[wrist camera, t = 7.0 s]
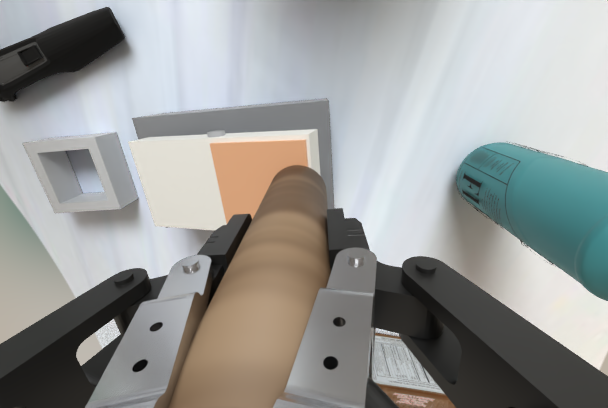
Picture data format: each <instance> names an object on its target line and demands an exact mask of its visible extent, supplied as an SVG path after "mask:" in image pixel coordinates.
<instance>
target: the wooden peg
mask: <svg viewBox="0 0 608 408" xmlns="http://www.w3.org/2000/svg"><path fill="white" fill-rule="evenodd" d="M327 209H328V206H327V191H326V186H325V183H324V180H323V179H322V177H321V176H320V175H319V174H318V173H317V172H316V171H315V170H313V169H311V168H309V167H306V166H302V165H293V166H289V167H286V168H284V169H282V170H281V171H279V172H278V173H277V174H276V175H275V177H274V178H273V180H272V182H271V184H270V186H269V188H268V190H267V192H266V194H265V196H264V198H263V200H262V202H261V204H260V206H259V208H258V210H257V212H256V213H255V215H254V217H253V219H252V221H251V223H250V225H249V227H248V229H247V231H246V233H245V235H244V237H243V239H242V241H241V243H240V245H239V247H238V249H237V251H236V253H235V255H234V257H233V259H232V261H231V263H230V265H229V267H228V269H227V271H226V273H225V274H224V276H223V278H222V280H221V282H220V284H219V286H218V288H217V290H216V292H215V294H214V296H213V298H212V300H211V302H210V304H209V306H208V308H207V310H206V312H205V314H204V316H203V318H202V320H201V322H200V324H199V326H198V329H197V331H196V332H195V334H194V336H193V338H192V342H191V346H190V349H189V351H188V354H187V357H186V360H185V362H184V365H183V368H182V371H181V373H180V376H179V379H178V382H177V385H176V388H175V391H174V394H173V397H172V400H171V403H170V406H169V408H273V406H274V404H275V402H276V400H277V399H278V397H279V396H280V395H281V394H282V393H283V392H284V390H285V388H286V385H287V383H288V380H289V377H290V374H291V371H292V368H293V365H294V362H295V359H296V356H297V353H298V350H299V347H300V344H301V341H302V338H303V335H304V333H305V330H306V327H307V324H308V321H309V318H310V315H311V312H312V309H313V306H314V303H315V300H316V297H317V294H318V291H319V289H320V288H321V287H323V288H326V287H327V284H328V281H329V277H330V274H331V269H330V257H329V241H328V224H327Z"/></svg>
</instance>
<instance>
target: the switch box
mask: <svg viewBox="0 0 608 408" xmlns="http://www.w3.org/2000/svg"><path fill="white" fill-rule="evenodd" d="M132 120H133V123H134V126H135V130H136V133H137V136H138V139H143V138H147V137H162V136H183V135H203V134H207V132H210V131H216V130H225V133H245V132H266V131H287V130H308V129H317V131H318V146H319V161H320V176H321V177H322V179H323V180H324V183H325V186H326V191H327V206H328V209H334V194H333V174H332V154H331V133H330V113H329V100H328V99H327V98H326V99H315V100H304V101H293V102H282V103H271V104H260V105H249V106H238V107H226V108H215V109H204V110H193V111H182V112H171V113H162V114H156V115H149V116H143V117H137V118H132ZM166 228H167V227H166Z"/></svg>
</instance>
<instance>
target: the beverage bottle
mask: <svg viewBox="0 0 608 408" xmlns="http://www.w3.org/2000/svg"><path fill="white" fill-rule="evenodd" d="M506 142H507V141H506ZM509 143H510V142H509ZM509 143H492V144H487V145H484V146H481V147H479V148H477V149H476V150H474V151H473V152H471V153H470V154H469V155H468V156H467V157H466V158H465V159H464V161H463V162H462V163H461V165H460V167H459V169H458V172H457V179H456V181H457V188H458V189H459V191H460V193H461V195H462V196H463V197H464V198H465V199H466V200H467V201H468V202H469V203H471V204H472V205H474V206H475V207H476V208H475V207H474V208H475V209H476V210H477V208H478V209H479V211H481V212H483V213H484V214H486V215H487V216H488V217H490V218H491V219H493V221H495V222H496V223H497V225H498V224H499V225H501V226H502V227H503V228H505V229H506V230H507V231H509V232H510V233H511V234H513V235H514V236H515V237H517V238H518V239H520V241H521V244H522V242H524V243H525V244H526V245H528V246H529V247H530V248H532V249H533V250H534V251H536V252H537V253H538V254H540V255H541V256H543V257H544V258H545V259H547V260H548V261H549V262H551V263H552V264H555V265H556V266H557V267H558V268H560V269H562V270H563V271H564V272H566V273H567V274H568V275H570V276H571V277H573V278H574V279H575V280H577V281H578V282H579V283H581V284H582V285H583V286H584V287H585V288H586V289H587V290H588V291H589V292H591V293H592V294H594V295H595V296H597V297H599V298H601V299H604V300H606V301H608V172H605V171H601V170H598V169H594V168H591V167H588V166H585V164H584V165H581V164H578V163H575V162H572V161H569V160H566V159H562V158H558V157H555V156H551V155H548V153H549V152H547V154H544V153H545V151H543V152H544V153H541V151H540V152H539V151H538V150H537V149H535V150H537V151H538V152H537V151H533V150H534V149H533V150H530V149H531V147H530V149H529V148H528V149H526V148H527V146H526V148H523V147H524V146H523V147H519V146H520V144H519V146H516V145H517V144H516V143H515V144H516V145H512V144H513V143H512V144H509ZM521 146H522V145H521ZM551 154H552V155H553V153H551ZM556 155H557V154H556ZM558 156H560V155H558ZM561 157H563V156H561ZM570 159H571V158H570ZM580 163H581V162H580ZM582 164H583V163H582ZM459 191H458V192H459ZM460 193H459V194H460ZM461 195H460V196H461ZM465 199H463V200H465ZM471 204H470V205H471ZM472 205H471V206H472ZM477 211H478V210H477ZM481 214H482V213H481ZM485 217H486V216H485ZM486 218H487V217H486ZM490 218H489V219H490ZM491 221H492V220H491ZM503 228H502V229H503ZM524 246H525V245H524ZM544 261H545V260H544ZM552 264H551V265H552ZM553 266H554V265H553Z"/></svg>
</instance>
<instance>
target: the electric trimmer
mask: <svg viewBox="0 0 608 408" xmlns="http://www.w3.org/2000/svg"><path fill="white" fill-rule="evenodd" d="M123 39H125V36H124V34H123V32H122V30H121V28H120V26H119V24H118V22H117V20H116V18H115V16H114V14H113V12H112V10H111V9H110V8H109V7H105V8H102V9H99V10H96V11H93V12H90V13H87V14H85V15H82V16H80V17H77V18H74V19H72V20H69V21H67V22H64V23H62V24H59V25H56V26H54V27H51V28H49V29H47V30H45V31H43V32H41V33H39V34H37V35H35V36H33V37H31V38H28V39H26V40H23V41H21V42H18V43H16V44H13V45H11V46H8V47H6V48H3V49H1V50H0V101H3V102H5V101H7V100H9V101H14V100H16V99H17V98H16V96H15V94H14V93H16V92H17V91H19V90H21V89H23V88H25V87H27V86H29V85H31V84H32V83H34V82H36V81H38V80H41V79H43V78H46V77H48V76H51V75H54V74H57V73H62V72H75V71H78V70H80V69H81V68H83V67H85V66H86V65H88V64H89V63H91V62H92V61H94V60H95V59H97V58H98V57H99V56H101V55H102V54H104V53H105V52H107V51H108V50H110V49H111V48H113V47H114V46H115V45H117V44H118V43H120V42H121V41H122V40H123Z"/></svg>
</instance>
